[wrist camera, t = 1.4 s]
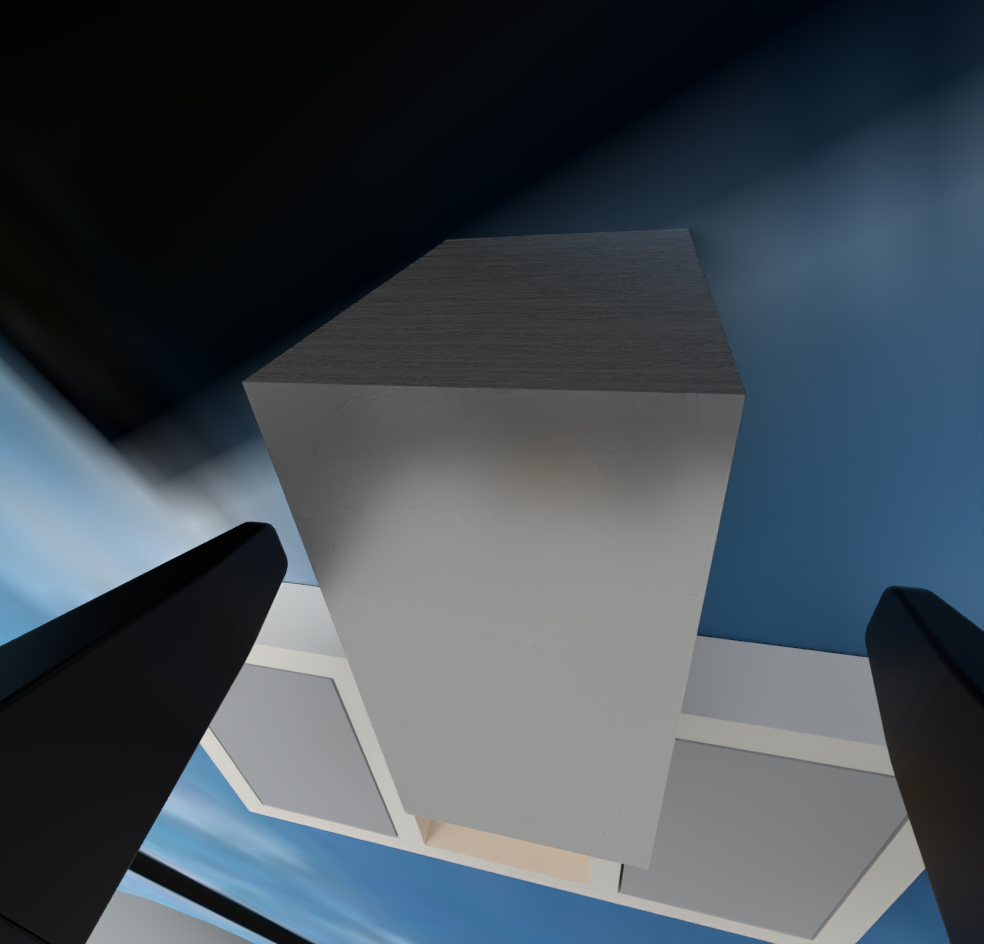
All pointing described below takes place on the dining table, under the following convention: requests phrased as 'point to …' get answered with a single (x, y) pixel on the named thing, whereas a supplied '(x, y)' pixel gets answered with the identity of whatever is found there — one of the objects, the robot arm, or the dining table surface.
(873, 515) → the dining table surface
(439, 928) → the dining table surface
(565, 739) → the grey block
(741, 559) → the dining table surface
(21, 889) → the robot arm
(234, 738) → the rack
